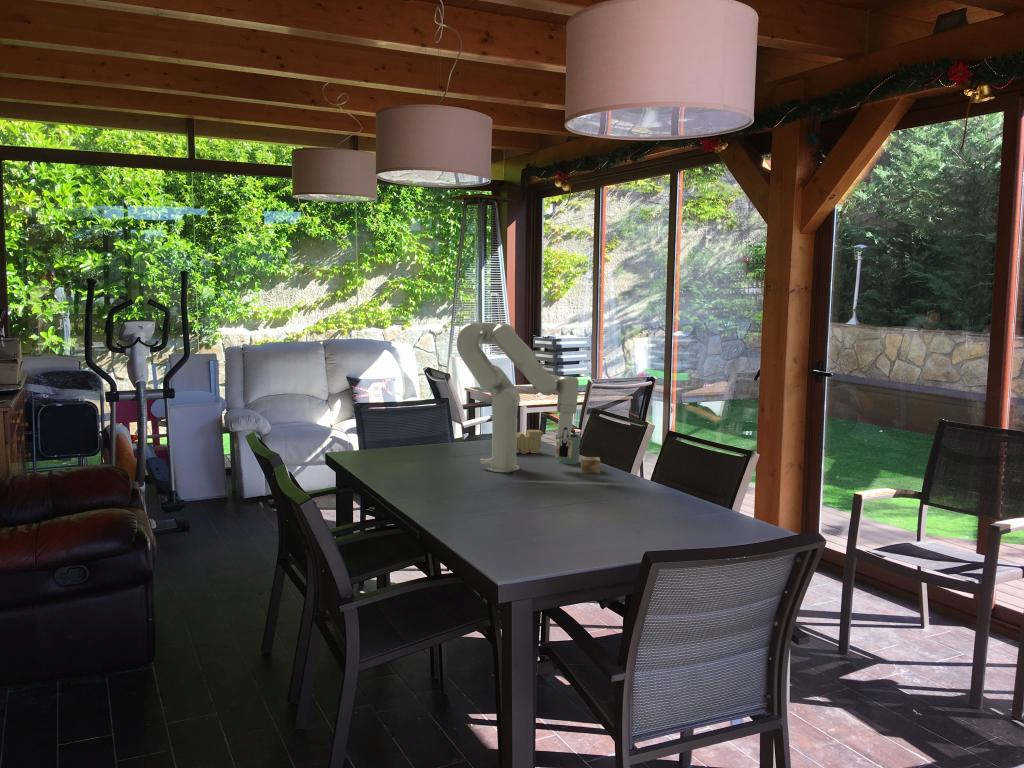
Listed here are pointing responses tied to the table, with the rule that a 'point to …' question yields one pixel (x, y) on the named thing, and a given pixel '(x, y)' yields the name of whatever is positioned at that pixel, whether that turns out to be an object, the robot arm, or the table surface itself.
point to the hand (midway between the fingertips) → (563, 454)
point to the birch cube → (558, 444)
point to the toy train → (529, 441)
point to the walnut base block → (590, 465)
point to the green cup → (575, 450)
